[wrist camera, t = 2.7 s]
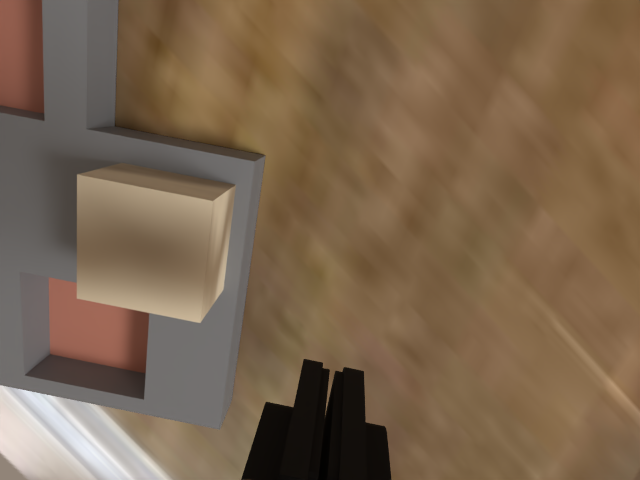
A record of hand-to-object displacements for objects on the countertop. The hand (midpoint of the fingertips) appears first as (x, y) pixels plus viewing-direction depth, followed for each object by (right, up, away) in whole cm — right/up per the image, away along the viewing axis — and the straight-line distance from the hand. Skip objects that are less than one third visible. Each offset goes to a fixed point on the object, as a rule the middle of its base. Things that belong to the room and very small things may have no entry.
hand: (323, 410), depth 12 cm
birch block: (-7, +5, +10) cm, 13 cm away
